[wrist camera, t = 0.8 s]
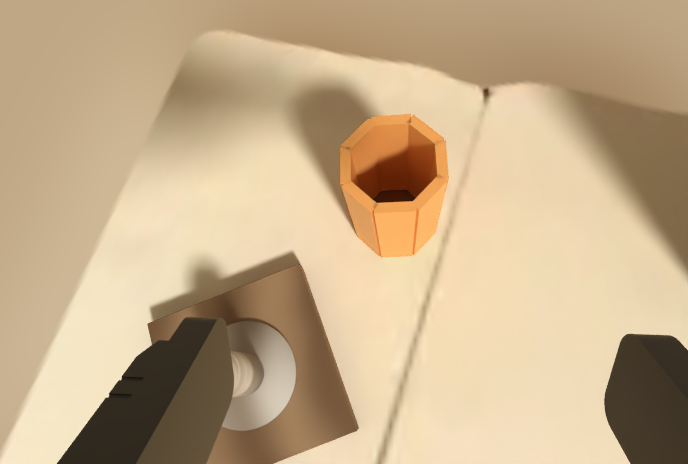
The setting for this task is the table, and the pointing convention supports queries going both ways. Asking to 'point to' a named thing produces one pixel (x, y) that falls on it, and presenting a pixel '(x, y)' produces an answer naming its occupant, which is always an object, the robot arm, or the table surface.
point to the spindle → (273, 371)
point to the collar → (394, 182)
